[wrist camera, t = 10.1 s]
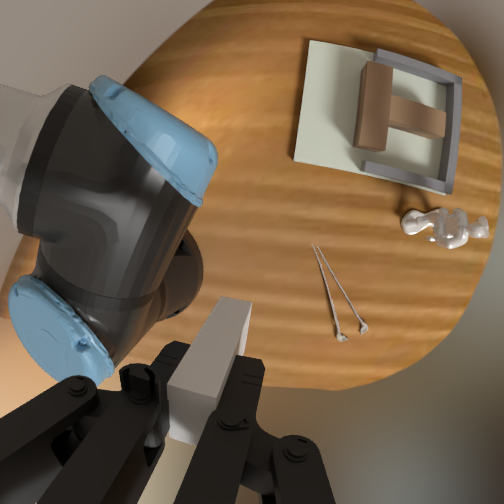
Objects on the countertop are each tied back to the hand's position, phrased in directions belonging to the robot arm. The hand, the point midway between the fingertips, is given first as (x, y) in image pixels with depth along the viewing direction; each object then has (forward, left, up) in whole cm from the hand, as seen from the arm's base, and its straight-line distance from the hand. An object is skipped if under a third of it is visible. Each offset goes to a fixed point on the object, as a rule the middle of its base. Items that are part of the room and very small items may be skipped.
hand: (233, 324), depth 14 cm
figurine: (+20, +5, -25) cm, 32 cm away
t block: (+13, +16, -23) cm, 31 cm away
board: (+11, +17, -24) cm, 31 cm away
